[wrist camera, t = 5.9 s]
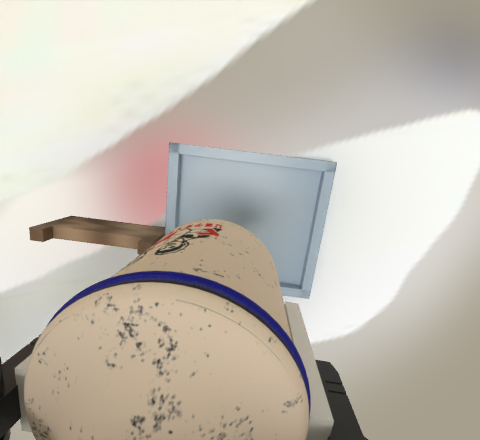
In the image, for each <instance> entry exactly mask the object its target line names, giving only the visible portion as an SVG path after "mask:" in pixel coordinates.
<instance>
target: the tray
mask: <svg viewBox="0 0 480 440" xmlns="http://www.w3.org/2000/svg"><path fill="white" fill-rule="evenodd" d="M336 165H337V162H329V161H321V160H313V159H304V158H296V157H288V156H279V155H271V154H262V153H254V152H245V151H237V150H229V149H221V148H212V147H203V146H196V145H187V144H179V143H171V142H170V143H169V162H168V183H167V205H166V206H167V207H166V226H165V235H167V234H168V233H169V232H170V231H172V230H173V229H175V228H176V227H178V226H180V225H183V224H185V223H188V222H191V221H195V220H201V219H218V220H224V221H229V222H232V223H235V224H237V225H239V226H241V227H243V228H245V229H247V230H248V231H250V232H251V233H253V234H254V235H255V236H256V237H257V238H258V239H259V240H260V241H261V242H262V243H263V244H264V245H265V247H266V248H267V250H268V251H269V253H270V254H271V256H272V258H273V261H274V263H275V266H276V270H277V274H278V279H279V284H280V288H281V293H282V295H284V296H292V297H299V298H307V299H309V296H310V292H311V287H312V282H313V277H314V272H315V267H316V262H317V258H318V253H319V248H320V243H321V238H322V233H323V228H324V224H325V219H326V214H327V209H328V204H329V199H330V195H331V190H332V185H333V180H334V175H335V170H336Z"/></svg>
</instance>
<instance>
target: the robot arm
mask: <svg viewBox="0 0 480 440" xmlns="http://www.w3.org/2000/svg"><path fill="white" fill-rule="evenodd" d="M284 307H285V312H286V316H287V321H288V326H289V330H290V335H291V339H292V342H293V343H294V345H295V347H296V349H297V351H298V353H299V355H300V357H301V359H302V362H303V364H304V367H305V369H306V373H307V377H308V381H309V387H310V395H311V408H310V417H309V426H308V433H307V437H306V440H368V439H367V438H365V437H364V436H363V434H362V431H361V429H360V426H359V424H358V422H357V419H356V416H355V414H354V411H353V409H352V406H351V404H350V402H349V399H348V396H347V395H346V391H345V389H344V387H343V385H342V381H341V379H340V376H339V374H338V372H337V371H336V369H335V368H334V367H333V366H332V365H331V363H330V362H326V361H320V360H319V361H318V360H315V358H314V355H313V351H312V348H311V345H310V342H309V338H308V335H307V332H306V329H305V325H304V322H303V319H302V316H301V312H300V309H299V306H298V304H297V303H290V302H285V305H284ZM40 335H41V334H40ZM40 335H39V337H40ZM39 337H37V338H35V339H34V340H33V341H32V342H30V344H28V345H26V346H25V347H24V348H23V349H21V350H20V351H19V352H18V353H16V354H15V355H14V356H12V357H11V358H10V359H9V360H7V361H6V362H5V363H3V364H1V357H0V440H9V438H10V428H11V427H12V426H13V425H14V424H15V423H16V422H17V421H18V420H19V419H20V420H21V428H22V430H23V431H29V432H32V430H31V427H30V424H29V421H28V418H27V414H26V410H25V402H24V382H25V374H26V370H27V366H28V362H29V359H30V357H31V354H32V352H33V349H34V347H35V344H36V343H37V341H38V339H39Z"/></svg>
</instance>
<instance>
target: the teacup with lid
mask: <svg viewBox="0 0 480 440" xmlns="http://www.w3.org/2000/svg"><path fill="white" fill-rule="evenodd" d="M24 402H25V410H26V414H27V418H28V421H29V424H30V427H31V430H32V433H33V435H34V437H35V439H36V440H306V437H307V433H308V426H309V417H310V408H311V395H310V387H309V381H308V377H307V373H306V369H305V367H304V364H303V362H302V359H301V357H300V355H299V353H298V351H297V349H296V347H295V345H294V343H293V342H292V339H291V335H290V330H289V326H288V321H287V316H286V312H285V307H284V302H283V298H282V293H281V288H280V284H279V279H278V274H277V270H276V266H275V263H274V261H273V258H272V256H271V254H270V253H269V251H268V250H267V248H266V247H265V245H264V244H263V243H262V242H261V241H260V240H259V239H258V238H257V237H256V236H255V235H254V234H253V233H251V232H250V231H248V230H247V229H245V228H243V227H241V226H239V225H237V224H235V223H232V222H229V221H224V220H218V219H201V220H195V221H191V222H188V223H185V224H183V225H180V226H178V227H176V228H175V229H173V230H172V231H170V232H169V233H168V234H167V235H165V236H164V237H163V238H161V239H160V240H159V241H158V242H156V243H155V244H154V245H152V246H151V247H150V248H149V249H147V250H146V251H145V252H144V253H142V254H141V255H140V256H138V257H137V258H136V259H135V260H133V261H132V262H131V263H129V264H128V265H127V266H126V267H124V268H123V269H122V270H120V271H119V272H118V273H117V274H115V275H114V276H113V277H111V278H109V279H106V280H103V281H100V282H98V283H96V284H94V285H92V286H90V287H88V288H86V289H85V290H83V291H81V292H80V293H78V294H77V295H75V296H74V297H73V298H72V299H70V300H69V301H68V302H67V303H65V304H64V305H63V306H62V307H61V308H60V310H59V311H58V312H57V313H56V314H55V315H54V316H53V318H52V319H51V320H50V322H49V323H48V325H47V327H46V329H45V330H44V331H43V332H42V334H41V335H40V337H39V339H38V341H37V343H36V344H35V347H34V349H33V352H32V354H31V357H30V359H29V362H28V366H27V370H26V374H25V382H24Z"/></svg>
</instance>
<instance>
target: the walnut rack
mask: <svg viewBox="0 0 480 440" xmlns="http://www.w3.org/2000/svg"><path fill="white" fill-rule="evenodd" d="M29 230H30V240H34V241H41V242H44V241H47V240H49V239H52V238H57V239H64V240H72V241H80V242H87V243H95V244H103V245H110V246H118V247H126V248H134V249H138V254H142V253H144V252H145V251H146V250H147V249H149V248H150V247H151V246H152V245H154V244H155V243H156V242H158V241H159V240H160V239H161V238H163V237H164V236H165V228H163V227H155V226H147V225H139V224H131V223H123V222H116V221H107V220H100V219H92V218H84V217H76V216H69V217H66V218H62V219H58V220H55V221H51V222H48V223H44V224H41V225H37V226H33V227H30V228H29Z"/></svg>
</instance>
